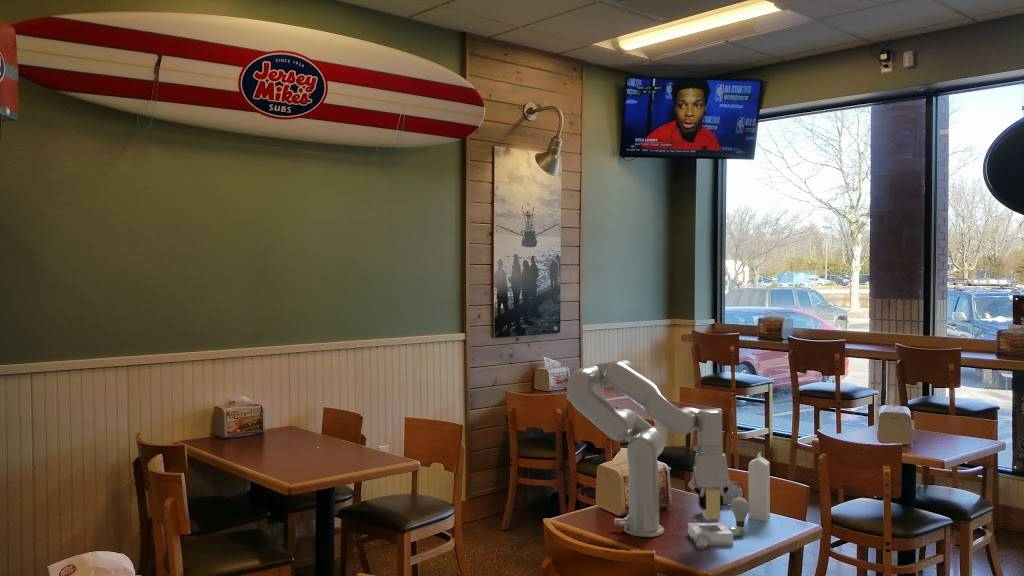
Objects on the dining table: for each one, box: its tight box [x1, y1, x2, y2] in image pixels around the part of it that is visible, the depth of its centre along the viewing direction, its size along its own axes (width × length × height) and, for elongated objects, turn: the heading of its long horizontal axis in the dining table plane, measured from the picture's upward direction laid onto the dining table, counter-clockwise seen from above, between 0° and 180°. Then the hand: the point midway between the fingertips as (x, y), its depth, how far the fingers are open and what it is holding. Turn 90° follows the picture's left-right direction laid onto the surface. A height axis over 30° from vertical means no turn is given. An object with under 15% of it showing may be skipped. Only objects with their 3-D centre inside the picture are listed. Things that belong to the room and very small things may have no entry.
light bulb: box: [730, 497, 750, 529], centre depth 259 cm, size 6×6×10 cm
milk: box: [747, 452, 771, 522], centre depth 270 cm, size 6×6×22 cm
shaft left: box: [695, 536, 711, 551], centre depth 241 cm, size 6×3×3 cm, turn 152°
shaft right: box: [727, 526, 745, 538], centre depth 250 cm, size 6×3×3 cm, turn 107°
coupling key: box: [701, 488, 721, 520], centre depth 248 cm, size 4×4×9 cm
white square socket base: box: [687, 522, 734, 546], centre depth 248 cm, size 11×11×4 cm
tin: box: [723, 480, 745, 506], centre depth 287 cm, size 15×3×8 cm, turn 98°
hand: (711, 507), depth 248 cm, fingers closed on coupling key, 4 cm apart
